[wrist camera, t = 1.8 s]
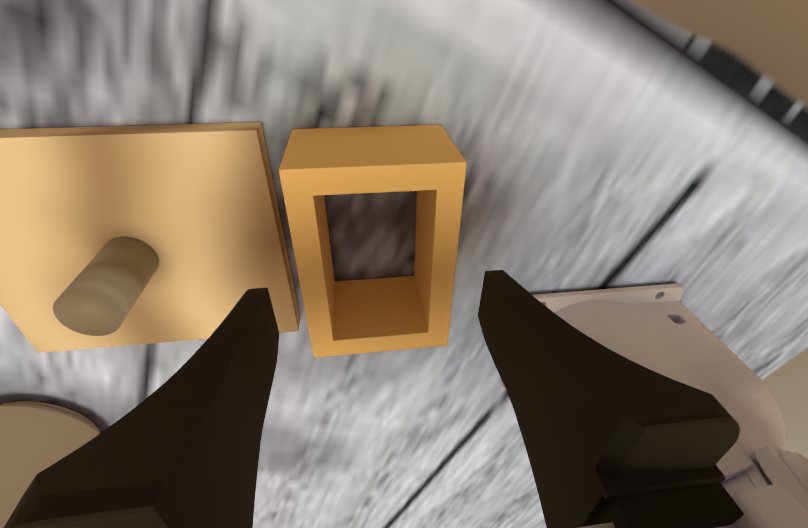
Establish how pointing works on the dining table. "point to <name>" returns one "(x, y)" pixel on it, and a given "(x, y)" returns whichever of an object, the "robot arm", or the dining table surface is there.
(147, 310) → the wooden block with peg
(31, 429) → the can
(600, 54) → the dining table surface
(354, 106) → the dining table surface
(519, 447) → the dining table surface
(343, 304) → the link
